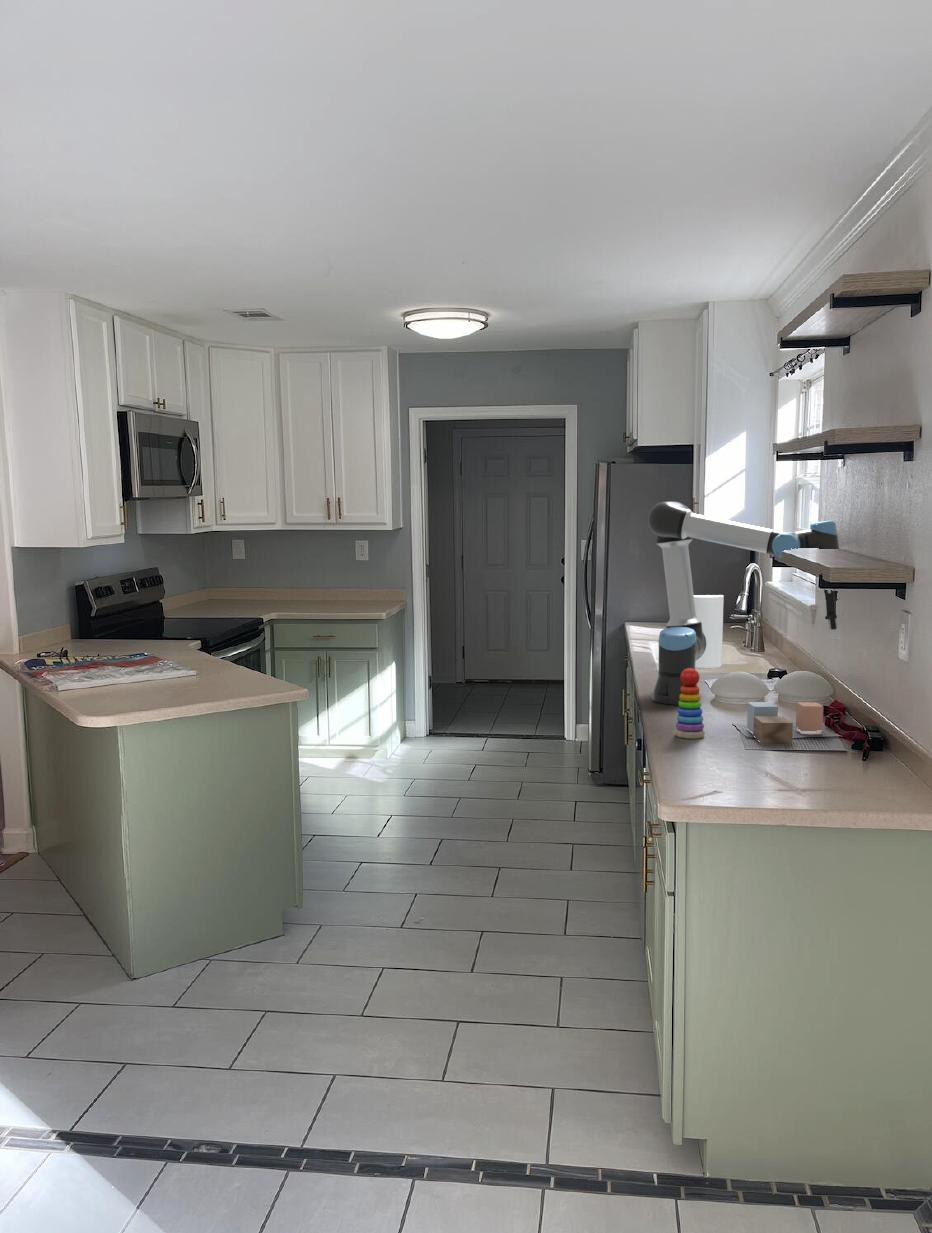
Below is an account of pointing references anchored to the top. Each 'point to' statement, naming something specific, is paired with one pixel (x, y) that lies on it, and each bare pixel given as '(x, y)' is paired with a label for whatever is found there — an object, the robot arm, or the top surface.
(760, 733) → the walnut block
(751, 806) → the top surface
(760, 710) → the blue grey block
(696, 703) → the stacking toy
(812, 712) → the terracotta block
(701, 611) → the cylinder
